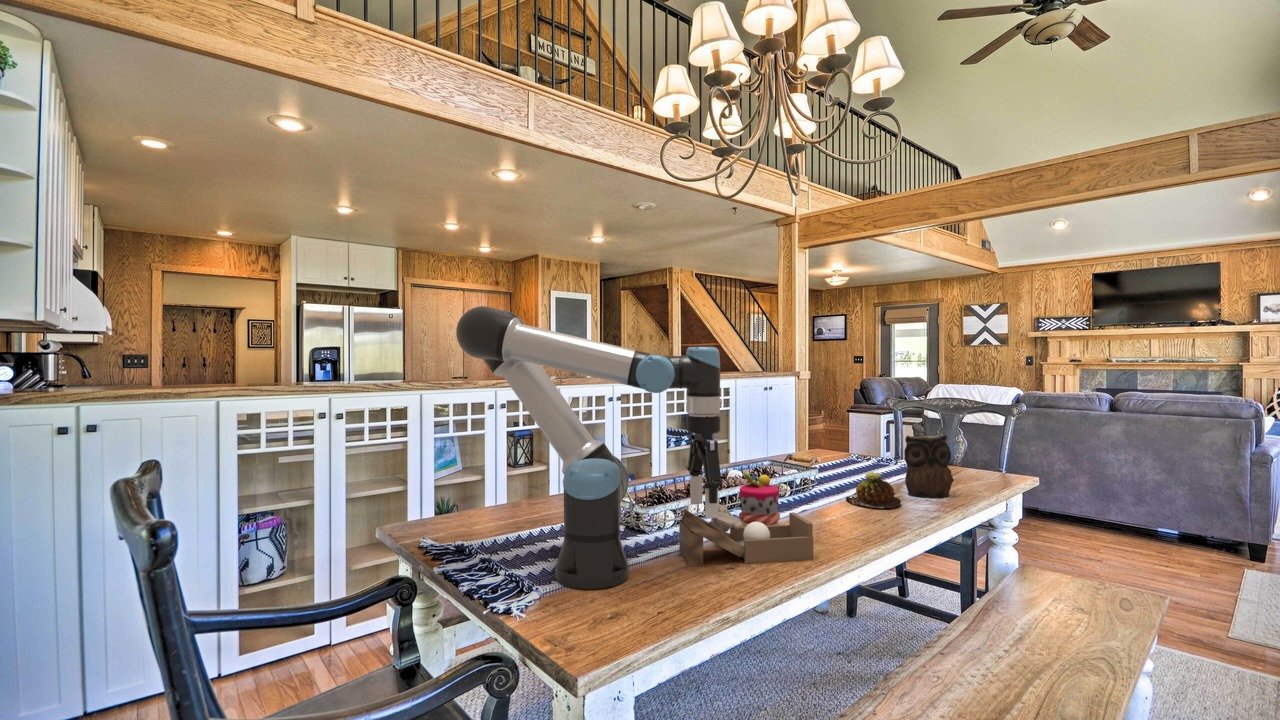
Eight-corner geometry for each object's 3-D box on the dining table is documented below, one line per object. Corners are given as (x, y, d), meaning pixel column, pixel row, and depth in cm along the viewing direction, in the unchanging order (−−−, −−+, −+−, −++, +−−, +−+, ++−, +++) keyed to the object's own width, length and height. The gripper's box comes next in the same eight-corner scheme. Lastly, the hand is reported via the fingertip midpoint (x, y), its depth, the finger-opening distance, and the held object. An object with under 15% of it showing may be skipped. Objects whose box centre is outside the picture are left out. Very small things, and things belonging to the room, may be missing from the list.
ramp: (689, 566, 130) (689, 521, 130) (679, 552, 140) (679, 510, 140) (745, 562, 132) (745, 518, 132) (731, 549, 142) (731, 507, 142)
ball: (756, 525, 132) (735, 536, 135) (773, 547, 132) (751, 558, 135) (761, 512, 138) (741, 523, 140) (777, 533, 138) (756, 544, 140)
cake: (766, 521, 166) (766, 467, 166) (787, 532, 156) (787, 474, 155) (732, 525, 162) (732, 470, 162) (751, 536, 152) (751, 477, 152)
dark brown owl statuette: (954, 496, 196) (954, 435, 196) (934, 501, 189) (934, 438, 189) (917, 489, 206) (917, 431, 206) (897, 494, 199) (897, 434, 199)
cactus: (840, 496, 197) (840, 467, 197) (890, 497, 195) (890, 467, 195) (853, 509, 180) (853, 477, 180) (908, 511, 178) (908, 478, 178)
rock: (722, 537, 139) (708, 508, 141) (715, 537, 153) (703, 511, 155) (744, 526, 140) (730, 497, 142) (736, 527, 154) (723, 501, 156)
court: (745, 563, 132) (745, 527, 132) (729, 548, 142) (729, 515, 142) (813, 559, 134) (813, 523, 134) (793, 545, 145) (793, 512, 145)
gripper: (736, 419, 124) (737, 523, 124) (704, 410, 148) (704, 497, 148) (702, 420, 123) (702, 525, 123) (675, 410, 147) (675, 498, 147)
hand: (703, 510), depth 136 cm, fingers open, 12 cm apart
